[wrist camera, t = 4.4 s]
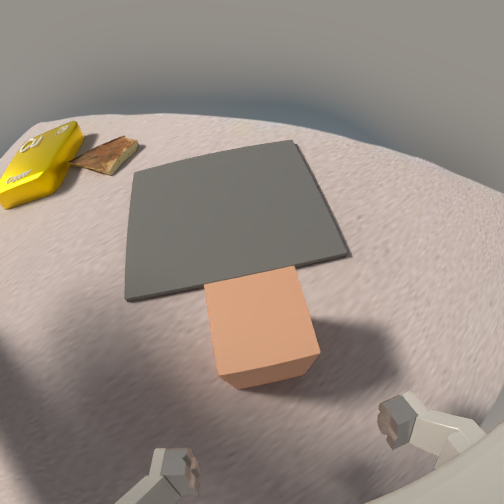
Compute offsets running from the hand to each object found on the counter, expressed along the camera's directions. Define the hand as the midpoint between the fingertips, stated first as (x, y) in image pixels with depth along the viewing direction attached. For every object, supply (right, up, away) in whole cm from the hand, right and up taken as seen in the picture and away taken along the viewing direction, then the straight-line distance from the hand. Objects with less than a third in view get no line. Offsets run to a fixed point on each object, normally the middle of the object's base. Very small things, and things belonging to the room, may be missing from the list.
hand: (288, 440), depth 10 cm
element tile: (-38, +21, +28) cm, 52 cm away
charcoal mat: (-5, +12, +19) cm, 23 cm away
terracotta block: (-1, 0, +11) cm, 11 cm away
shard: (-23, +20, +26) cm, 40 cm away
